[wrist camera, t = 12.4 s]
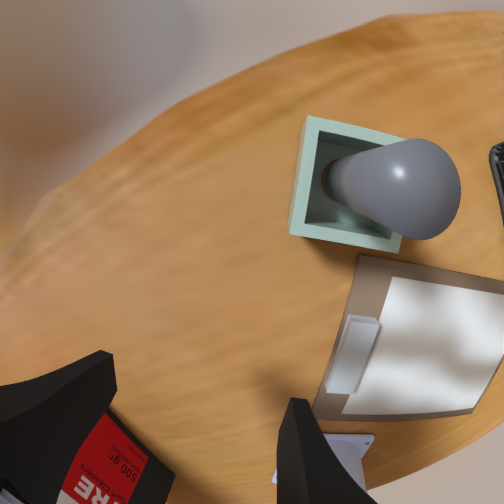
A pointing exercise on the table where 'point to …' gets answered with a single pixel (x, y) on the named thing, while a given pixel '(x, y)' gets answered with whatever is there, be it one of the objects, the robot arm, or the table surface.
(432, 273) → the clipboard
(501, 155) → the phone
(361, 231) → the box
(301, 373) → the table surface
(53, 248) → the table surface
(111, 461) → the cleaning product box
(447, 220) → the marker
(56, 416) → the robot arm
